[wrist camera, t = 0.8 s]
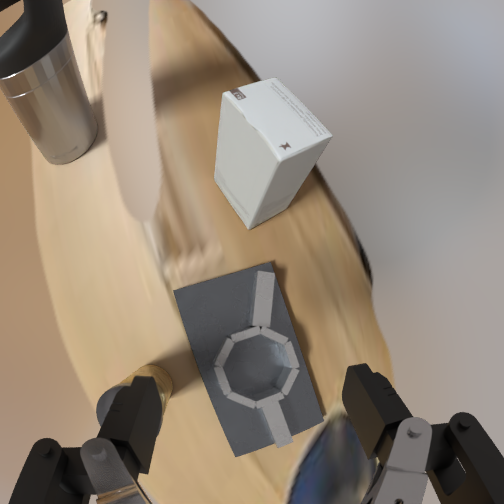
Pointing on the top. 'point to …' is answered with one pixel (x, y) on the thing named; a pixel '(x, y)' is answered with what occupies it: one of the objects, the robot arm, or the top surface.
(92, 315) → the top surface
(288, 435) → the socket base
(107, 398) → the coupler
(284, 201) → the skincare box
